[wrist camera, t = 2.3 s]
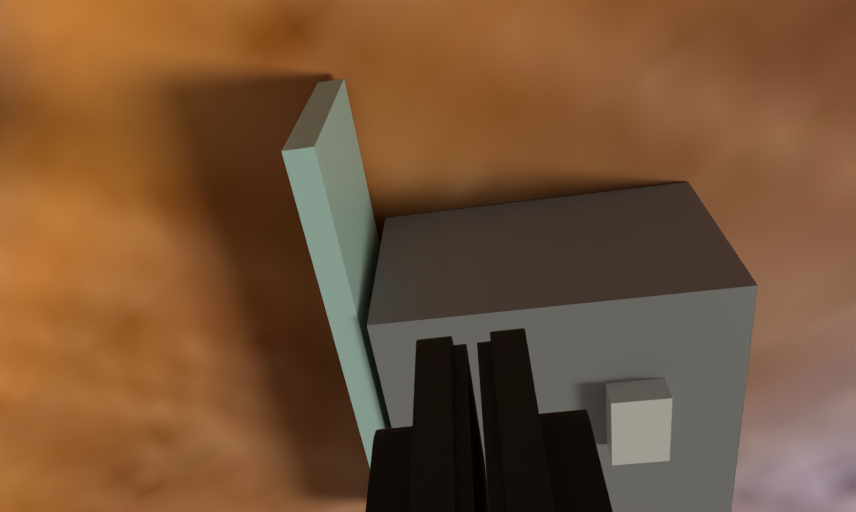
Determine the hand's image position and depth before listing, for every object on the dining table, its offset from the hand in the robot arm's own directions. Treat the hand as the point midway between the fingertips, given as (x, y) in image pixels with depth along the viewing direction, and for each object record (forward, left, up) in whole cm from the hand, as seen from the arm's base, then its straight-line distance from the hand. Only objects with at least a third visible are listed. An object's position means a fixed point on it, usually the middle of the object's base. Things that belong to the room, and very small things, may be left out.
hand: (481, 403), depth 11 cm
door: (-8, +4, -12) cm, 15 cm away
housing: (-10, -2, -13) cm, 16 cm away
